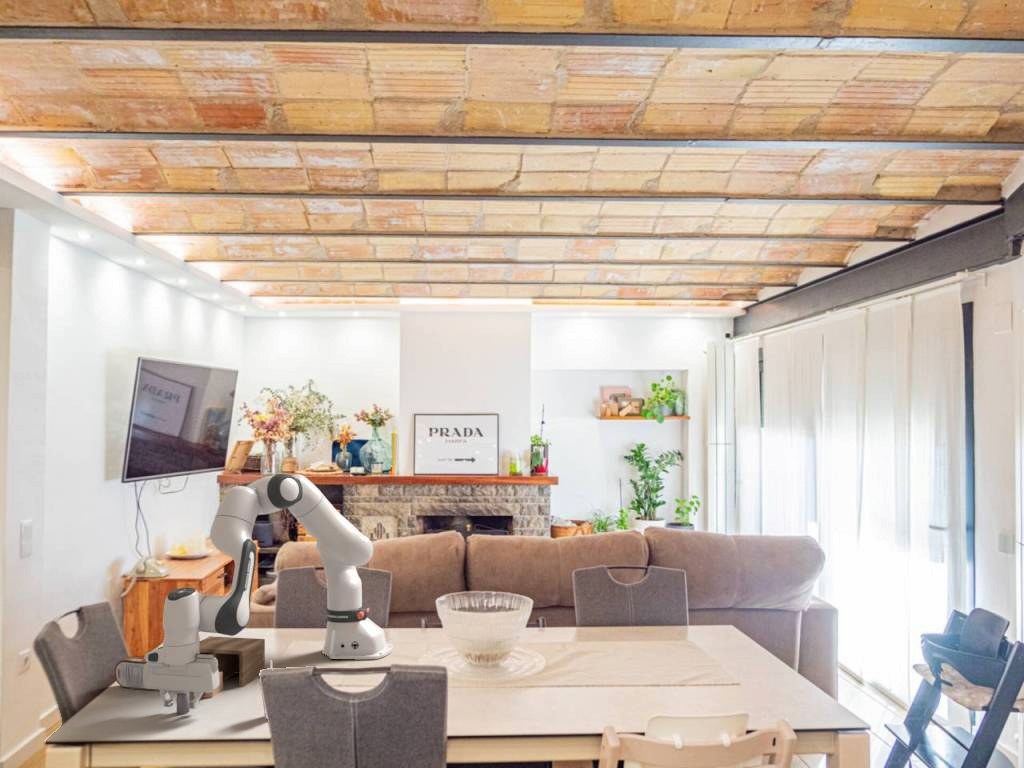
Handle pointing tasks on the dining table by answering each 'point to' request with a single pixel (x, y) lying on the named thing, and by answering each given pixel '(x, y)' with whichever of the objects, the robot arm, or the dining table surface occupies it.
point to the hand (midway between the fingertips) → (181, 707)
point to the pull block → (184, 699)
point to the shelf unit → (236, 656)
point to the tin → (130, 672)
